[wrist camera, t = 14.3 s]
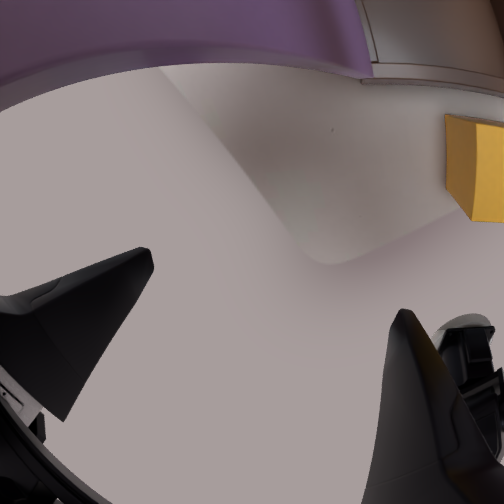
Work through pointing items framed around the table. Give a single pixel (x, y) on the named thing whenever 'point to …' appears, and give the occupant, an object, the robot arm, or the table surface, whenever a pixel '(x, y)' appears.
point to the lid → (170, 38)
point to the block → (476, 166)
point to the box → (436, 43)
